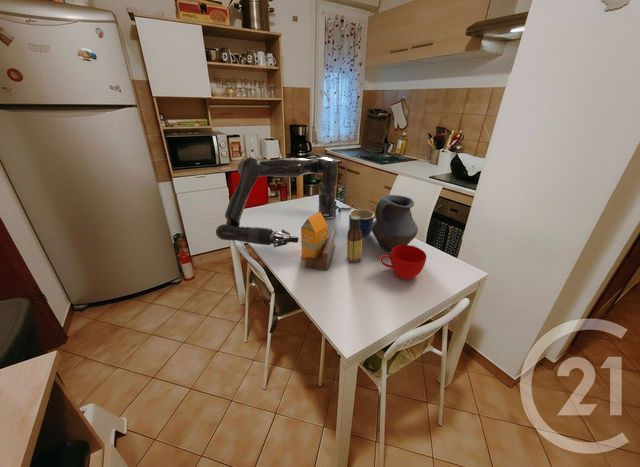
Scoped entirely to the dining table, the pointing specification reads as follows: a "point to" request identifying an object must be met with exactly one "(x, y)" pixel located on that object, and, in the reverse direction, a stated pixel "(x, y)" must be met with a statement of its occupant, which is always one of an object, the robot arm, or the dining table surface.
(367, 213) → the planter
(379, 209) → the pitcher
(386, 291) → the dining table surface
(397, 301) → the dining table surface
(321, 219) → the orange juice
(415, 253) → the ceramic cup
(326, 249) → the wooden stand
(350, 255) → the sauce bottle
